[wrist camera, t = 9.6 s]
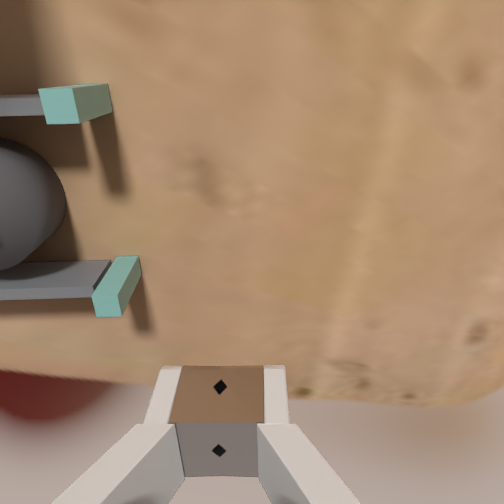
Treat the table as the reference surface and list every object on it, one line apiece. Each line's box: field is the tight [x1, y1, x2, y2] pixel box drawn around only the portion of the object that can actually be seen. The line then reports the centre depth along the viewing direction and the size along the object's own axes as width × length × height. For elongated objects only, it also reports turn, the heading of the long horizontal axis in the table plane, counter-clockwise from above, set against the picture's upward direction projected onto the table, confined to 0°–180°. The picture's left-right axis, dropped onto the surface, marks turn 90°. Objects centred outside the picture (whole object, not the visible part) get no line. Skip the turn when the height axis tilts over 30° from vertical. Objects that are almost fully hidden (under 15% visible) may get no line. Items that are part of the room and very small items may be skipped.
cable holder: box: [0, 84, 142, 317], centre depth 21 cm, size 12×12×5 cm
